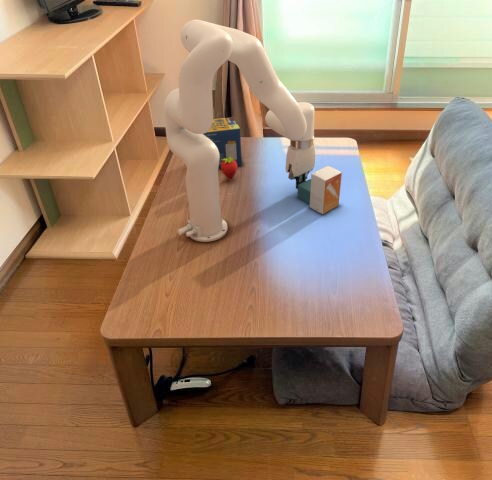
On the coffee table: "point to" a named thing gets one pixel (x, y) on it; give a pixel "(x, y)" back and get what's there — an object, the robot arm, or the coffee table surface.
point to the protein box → (226, 139)
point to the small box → (325, 189)
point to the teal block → (304, 191)
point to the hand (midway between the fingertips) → (300, 189)
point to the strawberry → (229, 167)
